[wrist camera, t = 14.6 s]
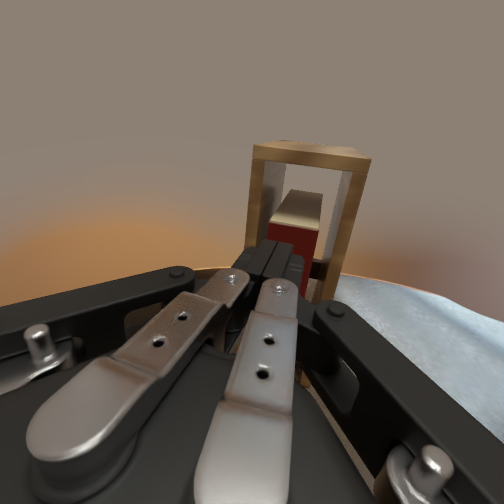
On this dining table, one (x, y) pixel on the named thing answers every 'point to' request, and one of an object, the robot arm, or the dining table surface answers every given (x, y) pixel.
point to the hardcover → (298, 227)
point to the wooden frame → (270, 193)
